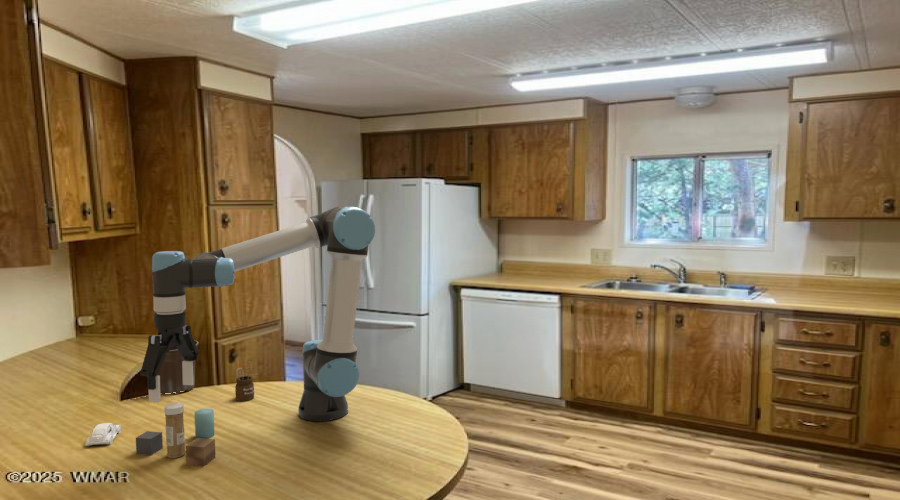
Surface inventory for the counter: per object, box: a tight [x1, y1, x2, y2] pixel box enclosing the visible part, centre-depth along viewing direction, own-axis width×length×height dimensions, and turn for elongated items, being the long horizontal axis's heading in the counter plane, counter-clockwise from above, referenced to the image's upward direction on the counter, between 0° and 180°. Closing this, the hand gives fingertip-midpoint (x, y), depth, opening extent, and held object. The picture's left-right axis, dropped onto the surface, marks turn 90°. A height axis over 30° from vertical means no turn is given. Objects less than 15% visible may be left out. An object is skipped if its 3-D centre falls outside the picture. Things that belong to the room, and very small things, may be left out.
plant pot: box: [153, 339, 199, 395], centre depth 210 cm, size 16×16×16 cm
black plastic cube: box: [135, 430, 164, 456], centre depth 160 cm, size 4×4×4 cm
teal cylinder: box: [194, 408, 216, 439], centre depth 170 cm, size 5×5×7 cm
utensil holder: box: [234, 360, 255, 402], centre depth 201 cm, size 6×6×12 cm
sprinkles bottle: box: [163, 402, 186, 459], centre depth 157 cm, size 5×5×14 cm
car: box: [84, 422, 123, 447], centre depth 168 cm, size 12×6×5 cm, turn 11°
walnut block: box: [185, 437, 216, 467], centre depth 154 cm, size 5×5×5 cm
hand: (172, 392), depth 156 cm, fingers open, 13 cm apart
